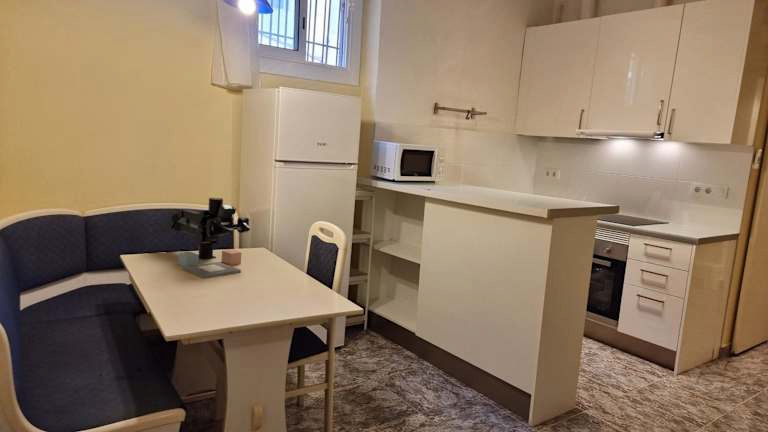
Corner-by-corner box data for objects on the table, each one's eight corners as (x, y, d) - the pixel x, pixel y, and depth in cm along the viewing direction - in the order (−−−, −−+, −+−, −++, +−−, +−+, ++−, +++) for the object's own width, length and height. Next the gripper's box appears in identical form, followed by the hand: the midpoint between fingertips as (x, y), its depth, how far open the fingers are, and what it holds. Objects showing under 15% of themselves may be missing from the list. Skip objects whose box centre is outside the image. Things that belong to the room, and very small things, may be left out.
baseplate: (182, 269, 203) (182, 266, 203) (218, 264, 215) (218, 261, 215) (204, 278, 193) (204, 275, 193) (240, 272, 205) (240, 269, 205)
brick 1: (178, 264, 210) (178, 252, 210) (189, 263, 214) (189, 251, 213) (186, 268, 206) (187, 256, 205) (198, 266, 210) (198, 254, 209)
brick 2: (221, 261, 220) (221, 250, 219) (231, 260, 224) (232, 249, 223) (230, 265, 216) (231, 253, 215) (240, 263, 219) (241, 252, 219)
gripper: (199, 205, 209) (220, 212, 199) (238, 203, 223) (260, 209, 213) (198, 232, 210) (219, 240, 201) (237, 228, 225) (258, 235, 215)
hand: (239, 230), depth 207 cm, fingers open, 9 cm apart
